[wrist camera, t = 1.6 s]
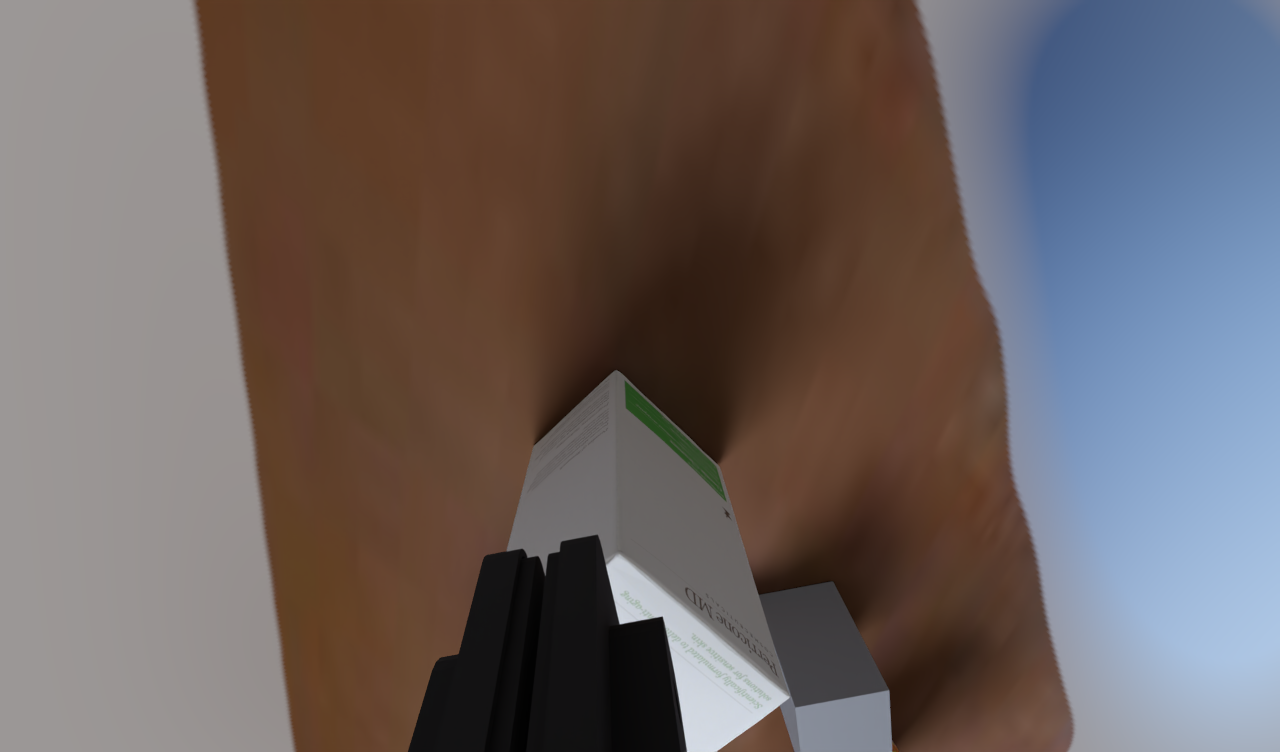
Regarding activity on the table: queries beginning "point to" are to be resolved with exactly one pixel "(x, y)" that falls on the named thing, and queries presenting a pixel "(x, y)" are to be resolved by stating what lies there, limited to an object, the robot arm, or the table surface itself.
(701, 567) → the skincare box
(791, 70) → the table surface
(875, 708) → the u rest
